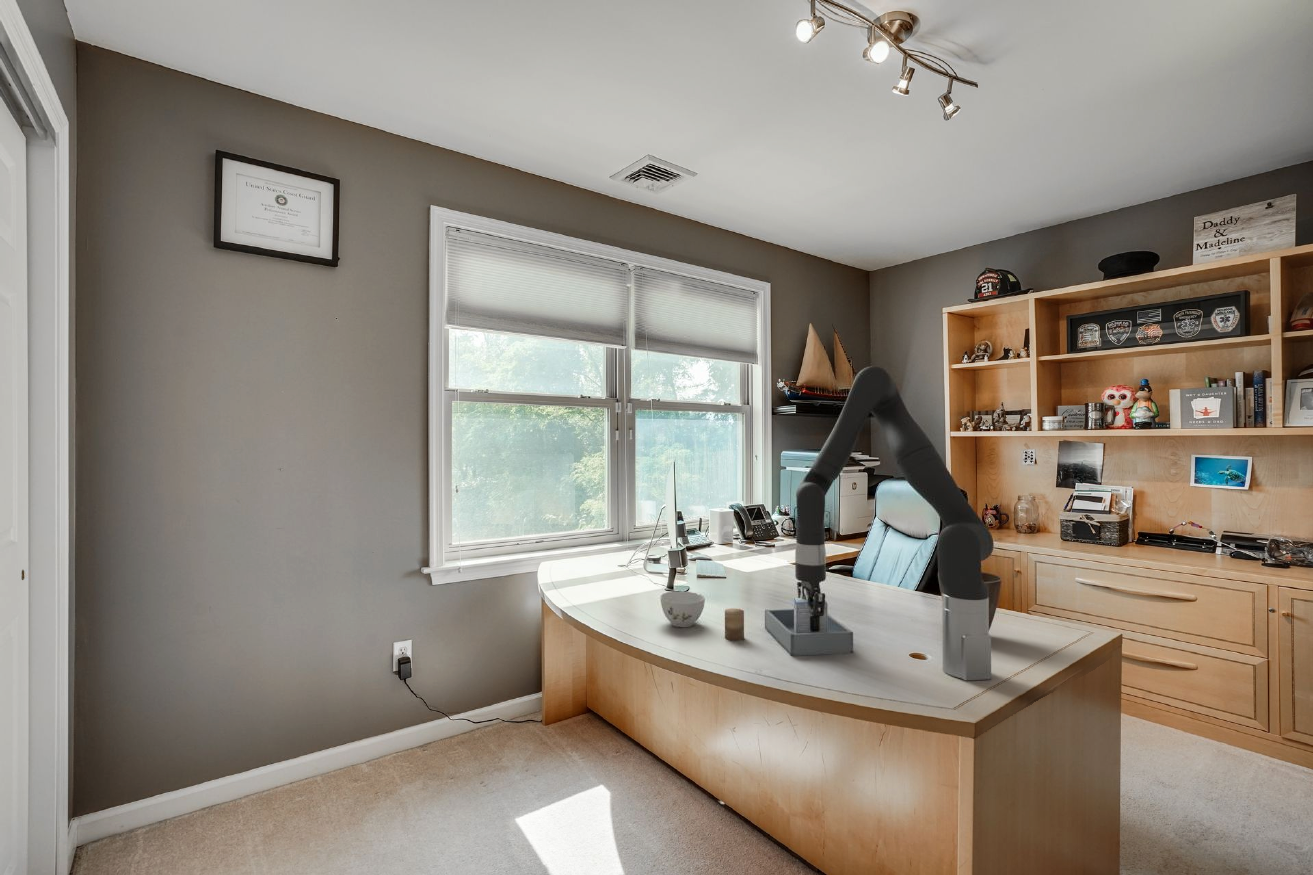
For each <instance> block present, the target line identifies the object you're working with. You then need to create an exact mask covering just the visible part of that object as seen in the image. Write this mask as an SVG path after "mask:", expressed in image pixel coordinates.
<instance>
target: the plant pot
mask: <svg viewBox="0 0 1313 875" xmlns="http://www.w3.org/2000/svg"><path fill="white" fill-rule="evenodd" d="M981 572H982V571H981ZM937 578H938V579H937V580H938V584H939V591H940V595H941V597H942V584H941V582H940V579H939V574H938V573H937ZM982 579H983V581H984V582H985V583H986V584H987V585H988V589H989V631H990V630H991V627H992V624H993V621H994V618H995V616H996V615H995V614H996V611H997V608H998V602H999V598H1000V592H1001V587H1002V586H1001V585H1002V580H1003V579H1002V578H1001V576H999V575H996V574H993V573H989V572H982Z"/></svg>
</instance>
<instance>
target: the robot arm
mask: <svg viewBox="0 0 1313 875" xmlns="http://www.w3.org/2000/svg"><path fill="white" fill-rule="evenodd" d="M870 414H872V416H873V417H874V418H875V420H876V421H877V423H878V425H880V427H881V429H882V431H883V433H884V436H885V439H886V441H887V445H888V447H889V449H890V450H889V451H890V453H891V454H892V457H893V460H894V461H895V463H896V465H897V467H898V468H899V470H900V472H901V474H902V476H903V477H904V479H905V480H906V481H907V483H908V484H909V485H910V486H911V488H912V489H913V490H914V491H916V493H918V495H920V496H921V498H922V499H924V501H926V502H927V503H928V504H929V505H930V506H931V507H932V508H933V509H934V510H935V512H936V513H937V515H938V516H939V518H940V519H941V522H942V523H943V525H944V528H943V529H942V530H941V532H940V533H939V535H938V538H937V569H938V570H937V571H938V572H937V575H938V574H939V579H940V582H941V584H942V596H941V599H942V601H941V602H942V606H941V609H942V610H941V611H942V612H941V613H942V616H941V617H942V625H941V626H942V627H941V628H942V632H941V633H942V634H941V635H942V639H941V640H942V641H941V642H942V650H941V651H942V670H943V672H944V673H946V674H947V675H950V676H953V677H956V678H957V679H958V678H959V679H962V680H963V681H977V680H978V681H980V680H981V681H982V680H992V636H991V635H990V633H989V631H990V630H989V589H988V585H987V584H986V583H985V582H984V581H983V579H982V562H983V561H985V560H987V559H988V558H990V557H991V555H992V553H993V551H994V548H995V547H994V543H995V542H994V538H993V535H992V533H991V532H990V530H989V529H988V526H986V524H985V523H984V521H983V520H981V518H980V517H979V515H978V514H977V512H976V511H975V510H974V509H973V508H972V506H971V505H970V504H969V502H968V500H967V499H966V497H965V496H964V495H963V493H962V492H961V489H960V488H959V486H958V484H957V482H956V481H955V479H954V477H953V476H952V474H951V472H950V471H949V470H948V468H947V465H946V464H945V462H944V461H943V459H942V456H940V454H939V453H938V451H937V449H936V448H935V445H934V444H933V442H932V441H931V440H930V438H929V437H928V435H927V434H926V433H925V431H923V429H922V428H921V426H920V425H919V424H918V423H917V422H916V421H915V420H914V418H913V417H912V415H911V414H910V412H909V411H908V408H907V406H906V405H905V402H904V400H903V399H902V396H901V394H900V391H899V389H898V387H897V384H896V383H895V380H894V379H893V378H892V376H891V375H890V374H889V372H888V371H887V370H886V369H884V368H883V367H881V366H877V365H870V366H867V367H865V368H862V369H861V370H860V371H859V372H858V373H857V374H856V376H855V378H854V380H853V383H852V386H851V387H850V391H849V393H848V396H847V397H846V400H845V403H844V406H843V408H842V410H841V412H840V414H839V417H838V418H837V420H836V423H835V425H834V427H833V429H832V430H831V432H830V433H829V436H828V438H827V439H826V441H825V442H824V444H823V446H822V447H821V450H820V451H819V453H818V455H817V456H816V457H815V460H814V461H813V464H812V466H811V468H810V469H809V471H808V472H807V474H806V475H805V476H804V478H803V479H802V481H801V483H800V484H799V486H798V487H797V490H796V493H795V497H796V518H797V523H796V532H795V533H796V536H795V537H796V539H795V540H796V541H795V542H796V545H795V554H794V555H795V556H794V557H795V558H794V561H795V567H794V568H795V579H796V580H797V582H796V585H797V587H796V588H797V598H802V599H804V598H805V599H806V602H807V607H809V611H810V630H811V631H812V632H818V631H819V630H820V616H823V615H824V606H825V601H826V594H825V593H823V592H822V590H821V587H820V583H821V582H824V581H826V579H827V567H826V566H827V565H826V564H827V555H826V554H827V552H826V542H825V540H826V538H825V537H826V536H825V514H826V513H825V510H826V495H827V494H828V492H829V490H830V489H831V486H832V485H833V483H834V482H835V480H837V479H838V477H839V476H840V475H841V473H842V471H843V470H844V469H845V466H846V465H847V463H848V461H849V459H850V458H851V456H852V454H853V452H854V450H855V447H856V444H857V441H858V437H859V435H860V433H861V430H862V427H863V426H864V423H865V421H866V419H867V418H868V416H869V415H870ZM810 602H813V604H811V603H810ZM816 609H817V611H816Z"/></svg>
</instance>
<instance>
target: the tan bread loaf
mask: <svg viewBox="0 0 1313 875" xmlns="http://www.w3.org/2000/svg"><path fill="white" fill-rule="evenodd" d="M724 638H725V640H727V641H732V642H740V641H743V640H745V610H743V609H740V608H735V607H733V608H732V607H731V608H727V609H726V608H725V610H724Z"/></svg>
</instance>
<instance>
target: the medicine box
mask: <svg viewBox="0 0 1313 875" xmlns="http://www.w3.org/2000/svg"><path fill="white" fill-rule="evenodd" d="M810 603H811V604H813V602H810ZM828 605H829V604H828V602H827V601H826V600H825V606H824V615H823V616H820V630H819V631H818V632H812V631H811V630H810V611H809V607H807V602H806V599H805V598H804V599H802V598H798V597H794V598H793V609H794V631H795V634H796V633H820V632H828V609H829V608H828V607H829V606H828ZM816 611H817V609H816Z"/></svg>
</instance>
